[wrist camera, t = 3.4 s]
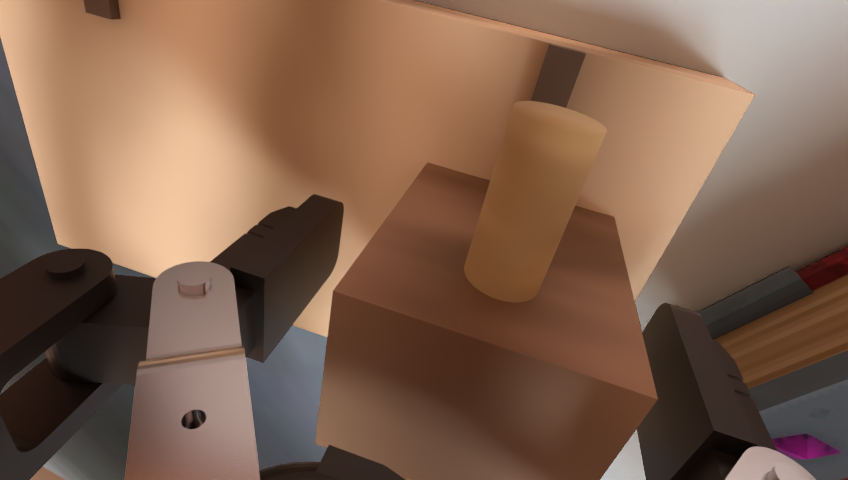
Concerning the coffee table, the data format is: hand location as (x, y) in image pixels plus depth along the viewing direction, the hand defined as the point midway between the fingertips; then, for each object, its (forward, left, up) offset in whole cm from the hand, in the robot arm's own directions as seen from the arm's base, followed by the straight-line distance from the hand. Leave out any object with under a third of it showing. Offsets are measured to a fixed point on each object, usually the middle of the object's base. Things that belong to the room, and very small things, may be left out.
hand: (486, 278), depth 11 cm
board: (+6, 0, -4) cm, 7 cm away
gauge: (0, 0, -2) cm, 2 cm away
